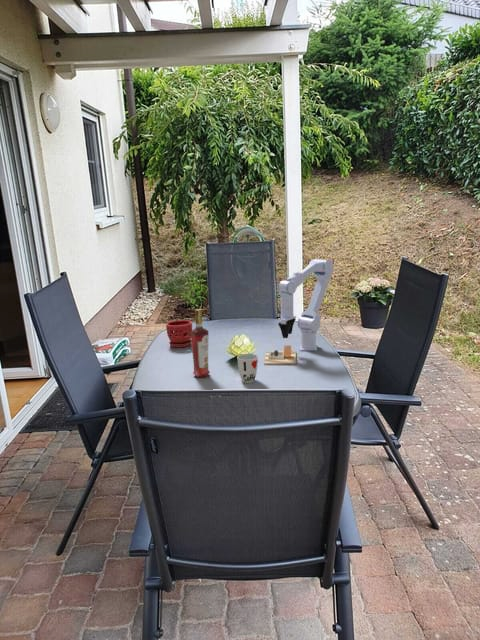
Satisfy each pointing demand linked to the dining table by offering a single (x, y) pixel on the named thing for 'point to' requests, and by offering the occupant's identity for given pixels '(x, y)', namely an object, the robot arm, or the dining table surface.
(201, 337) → the liquor
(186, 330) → the plant pot
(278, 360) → the board
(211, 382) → the dining table surface
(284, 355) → the square frame with cube
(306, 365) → the dining table surface
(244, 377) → the cup
